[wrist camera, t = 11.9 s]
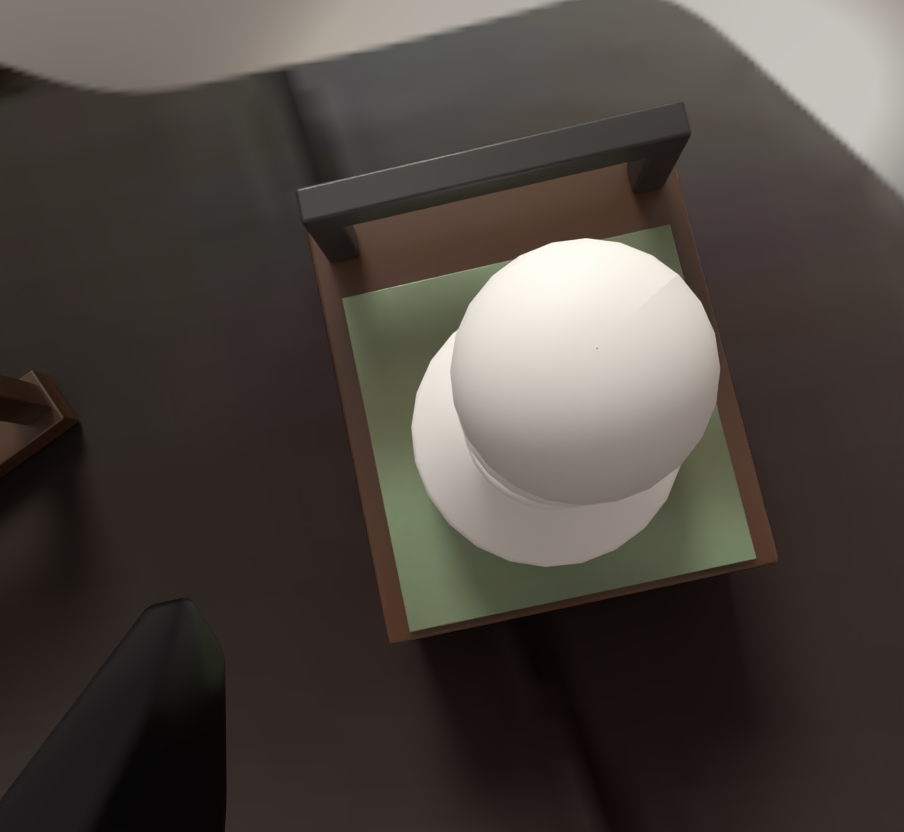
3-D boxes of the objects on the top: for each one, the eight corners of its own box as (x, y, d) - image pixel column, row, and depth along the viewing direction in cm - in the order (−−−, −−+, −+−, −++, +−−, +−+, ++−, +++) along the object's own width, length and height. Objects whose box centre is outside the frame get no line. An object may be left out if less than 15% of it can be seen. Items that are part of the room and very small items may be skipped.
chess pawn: (541, 614, 16) (597, 757, 7) (368, 433, 16) (212, 346, 7) (721, 438, 16) (1004, 351, 7) (543, 265, 17) (596, -18, 8)
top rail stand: (724, 551, 20) (832, 573, 13) (410, 618, 20) (368, 670, 14) (637, 211, 21) (699, 80, 14) (341, 278, 21) (272, 179, 15)
